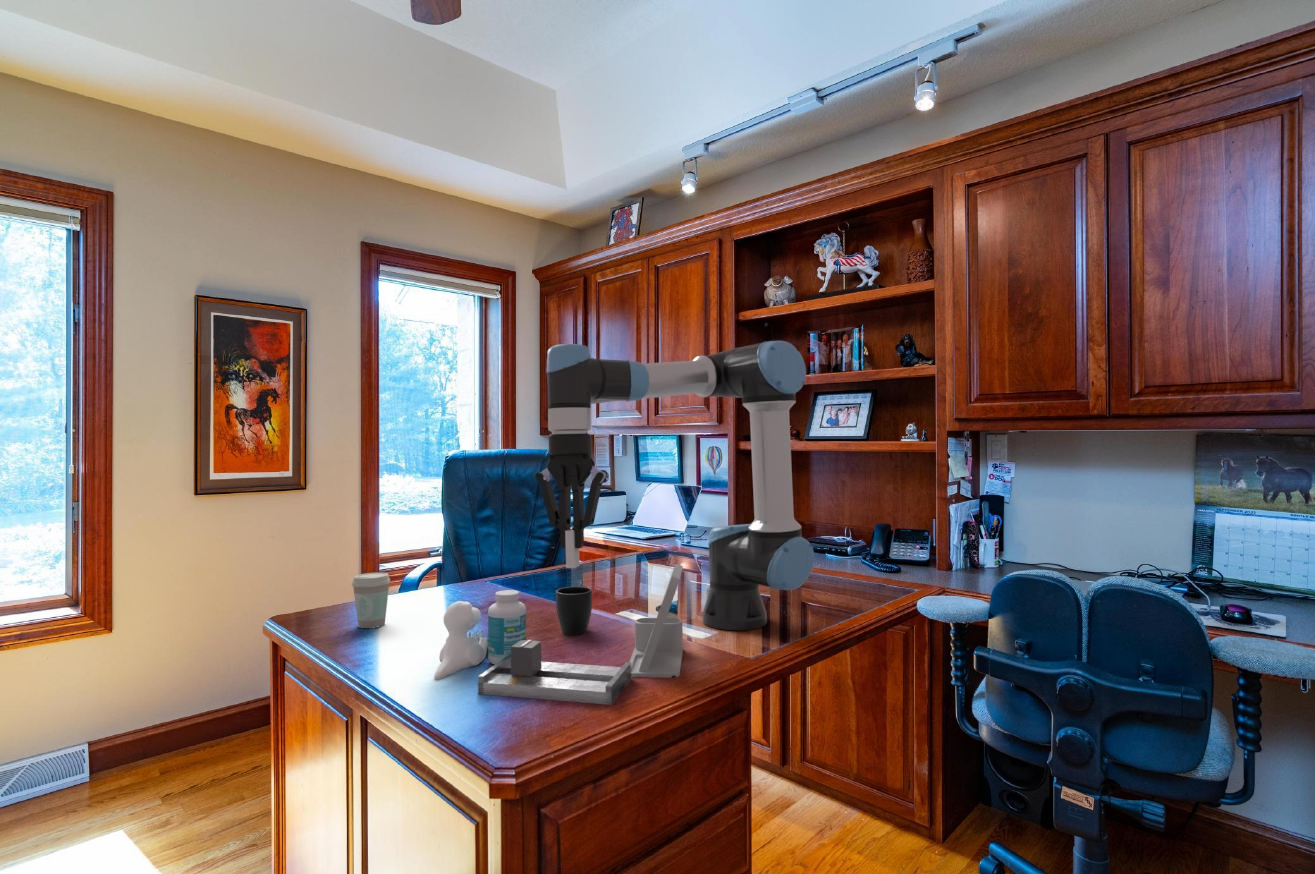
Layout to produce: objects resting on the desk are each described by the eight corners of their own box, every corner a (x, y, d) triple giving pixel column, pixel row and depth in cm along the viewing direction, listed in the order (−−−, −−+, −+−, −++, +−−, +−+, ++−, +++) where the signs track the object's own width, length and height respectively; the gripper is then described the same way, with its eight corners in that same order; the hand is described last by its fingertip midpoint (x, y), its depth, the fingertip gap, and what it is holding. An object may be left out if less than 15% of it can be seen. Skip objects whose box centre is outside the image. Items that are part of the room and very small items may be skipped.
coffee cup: (347, 625, 155) (346, 575, 155) (383, 618, 161) (383, 570, 161) (358, 632, 149) (358, 580, 149) (396, 625, 155) (396, 575, 155)
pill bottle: (507, 669, 123) (506, 598, 123) (480, 662, 127) (479, 593, 127) (534, 658, 129) (533, 590, 130) (507, 652, 133) (507, 586, 134)
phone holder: (636, 647, 136) (635, 561, 136) (684, 647, 135) (683, 561, 135) (625, 676, 118) (624, 578, 119) (680, 677, 118) (679, 578, 118)
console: (631, 678, 117) (631, 662, 117) (611, 704, 105) (611, 686, 105) (509, 669, 123) (509, 653, 123) (478, 693, 111) (478, 676, 111)
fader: (541, 673, 117) (541, 640, 117) (532, 681, 113) (531, 646, 113) (521, 672, 118) (520, 638, 118) (511, 679, 114) (510, 645, 114)
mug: (600, 622, 154) (600, 583, 155) (587, 637, 143) (586, 594, 143) (567, 621, 156) (567, 582, 156) (551, 636, 144) (551, 593, 144)
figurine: (503, 650, 134) (502, 590, 135) (456, 681, 117) (455, 612, 117) (467, 648, 137) (466, 589, 137) (415, 678, 119) (414, 610, 119)
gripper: (611, 432, 116) (614, 563, 116) (544, 434, 119) (546, 561, 119) (598, 431, 109) (601, 571, 109) (526, 433, 112) (529, 569, 112)
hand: (572, 566), depth 114 cm, fingers closed
